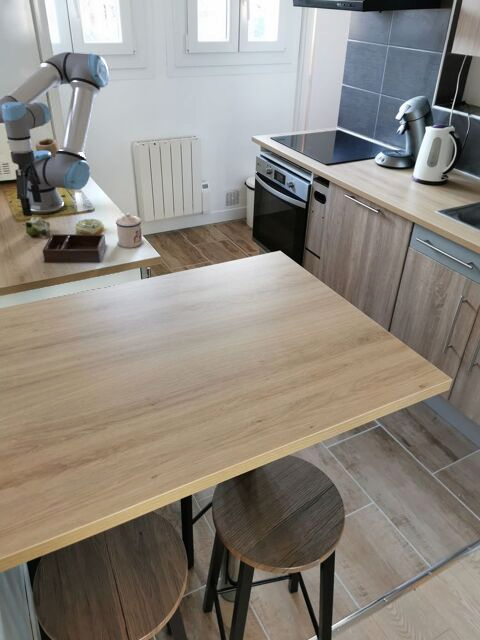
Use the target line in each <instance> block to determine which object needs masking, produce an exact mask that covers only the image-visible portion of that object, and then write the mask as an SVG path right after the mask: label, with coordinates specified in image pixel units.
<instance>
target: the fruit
mask: <svg viewBox="0 0 480 640" xmlns="http://www.w3.org/2000/svg"><path fill="white" fill-rule="evenodd" d="M24 222H25V223H22V225H23V226H25V233H26V234H27V235H29V236H31V237H34V236H35V235H39V236H43V237H46V238H50V237H51V232H50V231H51V230H50V229H51V225H50V222H49V221H45V220H44V219H43V218H42V217H41V216H35V217H34V216H31V218H30V220H25V221H24Z"/></svg>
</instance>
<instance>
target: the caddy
mask: <svg viewBox="0 0 480 640" xmlns="http://www.w3.org/2000/svg"><path fill="white" fill-rule="evenodd" d="M105 236H106V235H105V234H96V235H82V234H80V233H78V234H77V233H76V234H74V233H73V234H72V233H71V234H69V233H67V234H65V233H64V234H62V233H61V234H59V233H58V234H57V233H56V234H53V233H52V234H50V237H48V238H49V239H48V240H47V241H46V243H45V245H44V247H43V249H42V254H43V259H44V263H101V262H102V258H103V256H104V253H105V249H106V246H107V244H106V237H105Z"/></svg>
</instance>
